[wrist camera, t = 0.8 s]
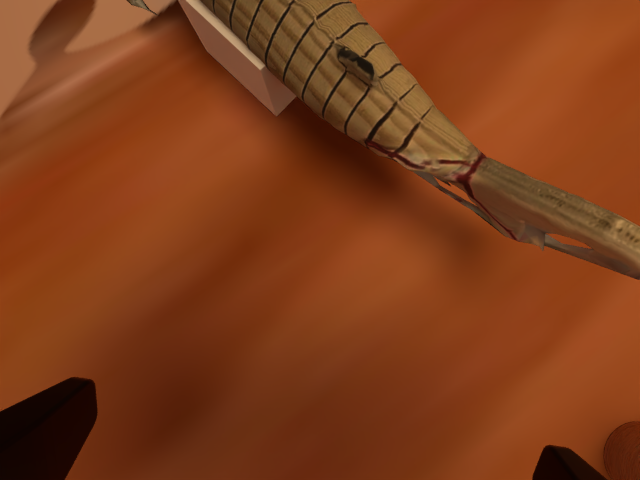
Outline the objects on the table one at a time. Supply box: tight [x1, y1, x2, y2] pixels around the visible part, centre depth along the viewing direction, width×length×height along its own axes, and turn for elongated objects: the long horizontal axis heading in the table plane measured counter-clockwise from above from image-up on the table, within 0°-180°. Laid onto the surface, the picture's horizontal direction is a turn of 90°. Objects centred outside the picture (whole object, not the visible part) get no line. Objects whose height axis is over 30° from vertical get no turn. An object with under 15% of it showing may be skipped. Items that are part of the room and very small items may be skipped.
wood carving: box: [127, 0, 640, 280], centre depth 20 cm, size 9×35×11 cm, turn 46°
